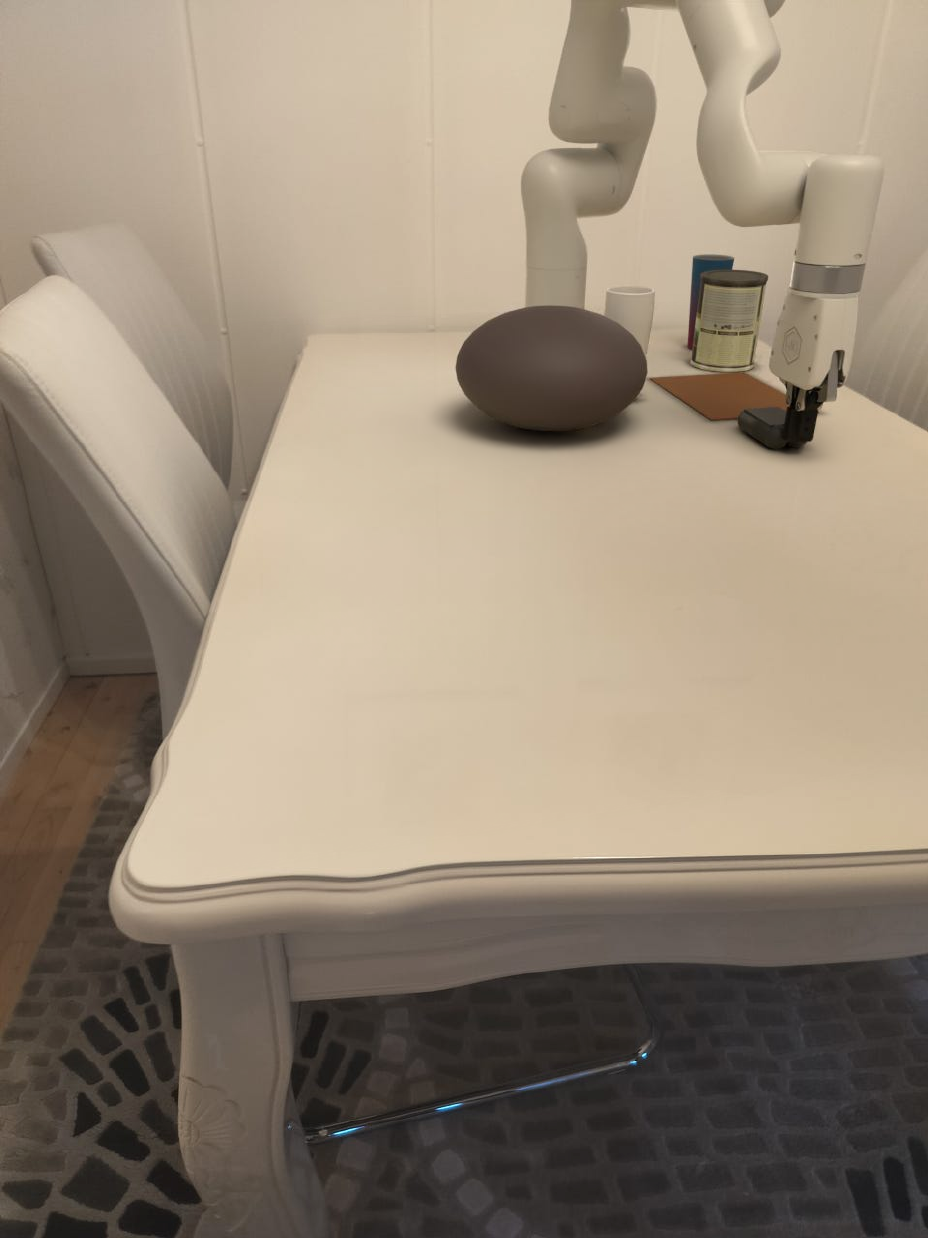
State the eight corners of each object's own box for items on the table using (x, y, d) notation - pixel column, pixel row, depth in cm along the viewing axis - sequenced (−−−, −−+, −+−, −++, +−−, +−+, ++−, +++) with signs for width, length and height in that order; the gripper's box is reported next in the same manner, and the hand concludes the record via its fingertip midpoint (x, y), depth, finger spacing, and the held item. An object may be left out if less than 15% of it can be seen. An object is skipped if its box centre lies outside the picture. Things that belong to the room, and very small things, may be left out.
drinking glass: (648, 393, 131) (659, 286, 124) (640, 406, 126) (651, 295, 118) (602, 389, 133) (610, 284, 126) (593, 401, 128) (601, 292, 120)
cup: (722, 353, 153) (735, 260, 146) (682, 351, 154) (693, 259, 147) (720, 344, 159) (733, 254, 152) (682, 342, 160) (692, 253, 153)
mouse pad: (710, 420, 120) (711, 419, 120) (649, 378, 138) (649, 377, 138) (818, 413, 122) (819, 411, 122) (744, 373, 141) (744, 372, 141)
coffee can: (678, 359, 149) (688, 270, 142) (733, 355, 152) (745, 267, 145) (709, 374, 141) (722, 280, 134) (766, 370, 143) (781, 277, 136)
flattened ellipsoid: (602, 393, 131) (611, 287, 124) (672, 447, 110) (687, 323, 103) (439, 403, 127) (438, 294, 119) (479, 461, 106) (480, 333, 98)
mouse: (768, 453, 108) (773, 429, 107) (731, 428, 117) (735, 405, 115) (812, 449, 109) (816, 426, 108) (772, 425, 118) (776, 403, 116)
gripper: (762, 271, 104) (739, 424, 113) (832, 291, 91) (800, 462, 100) (820, 269, 105) (793, 420, 114) (897, 288, 92) (860, 457, 101)
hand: (797, 439), depth 107 cm, fingers closed
